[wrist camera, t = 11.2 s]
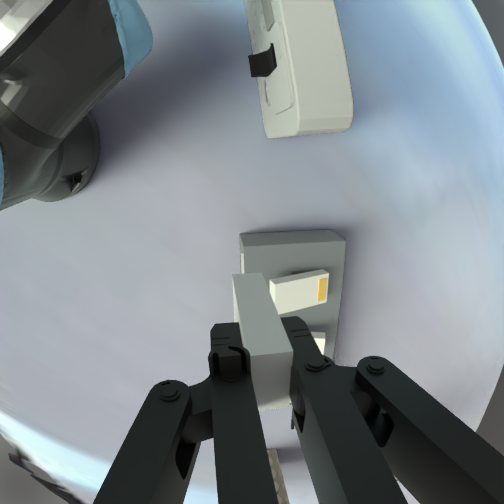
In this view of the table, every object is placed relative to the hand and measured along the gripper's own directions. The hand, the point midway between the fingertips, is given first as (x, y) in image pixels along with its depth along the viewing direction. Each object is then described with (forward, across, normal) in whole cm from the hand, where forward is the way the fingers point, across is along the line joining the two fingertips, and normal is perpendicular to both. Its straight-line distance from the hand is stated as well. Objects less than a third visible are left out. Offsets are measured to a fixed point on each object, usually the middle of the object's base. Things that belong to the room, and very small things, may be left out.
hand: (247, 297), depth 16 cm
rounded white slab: (+30, +7, +23) cm, 38 cm away
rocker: (+21, +9, -11) cm, 26 cm away
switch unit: (+29, +9, -20) cm, 37 cm away
